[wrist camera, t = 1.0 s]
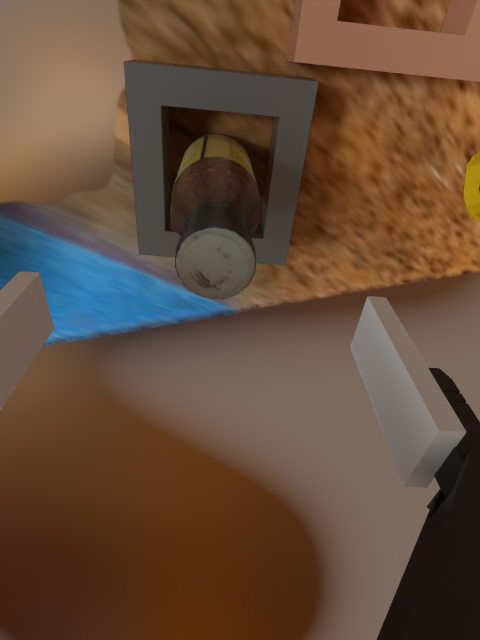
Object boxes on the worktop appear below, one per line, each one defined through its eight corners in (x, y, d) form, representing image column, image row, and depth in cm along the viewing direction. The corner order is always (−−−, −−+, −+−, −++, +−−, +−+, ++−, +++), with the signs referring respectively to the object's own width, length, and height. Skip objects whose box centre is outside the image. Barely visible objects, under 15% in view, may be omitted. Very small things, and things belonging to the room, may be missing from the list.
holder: (147, 237, 38) (139, 254, 35) (135, 60, 29) (123, 61, 26) (281, 247, 39) (285, 264, 36) (309, 78, 30) (318, 81, 27)
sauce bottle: (194, 206, 36) (163, 331, 20) (174, 138, 33) (117, 224, 17) (259, 192, 36) (281, 310, 20) (247, 121, 32) (261, 194, 16)
